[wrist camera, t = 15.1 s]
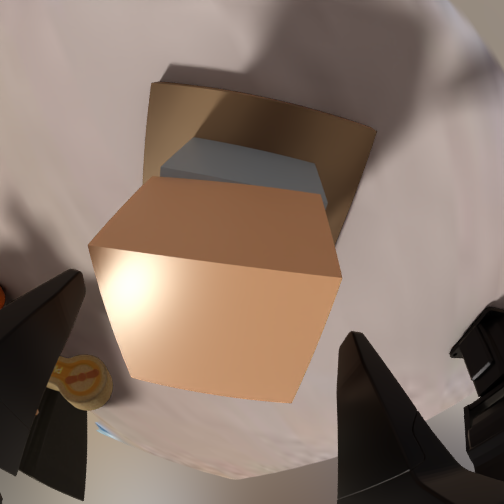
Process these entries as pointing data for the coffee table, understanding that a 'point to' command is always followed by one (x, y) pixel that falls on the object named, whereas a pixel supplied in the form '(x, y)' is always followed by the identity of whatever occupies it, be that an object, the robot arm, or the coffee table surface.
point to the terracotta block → (218, 285)
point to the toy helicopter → (79, 379)
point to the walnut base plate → (260, 135)
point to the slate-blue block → (242, 167)
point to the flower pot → (57, 446)
